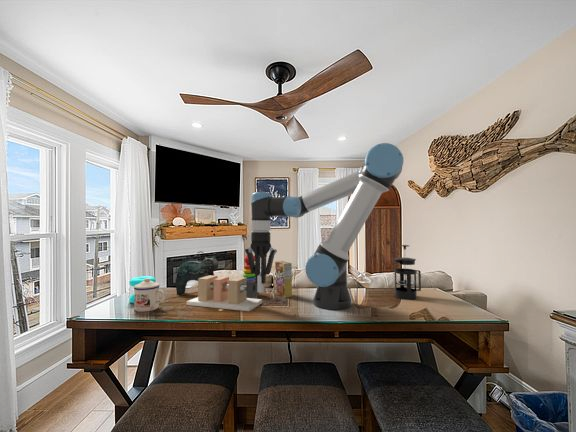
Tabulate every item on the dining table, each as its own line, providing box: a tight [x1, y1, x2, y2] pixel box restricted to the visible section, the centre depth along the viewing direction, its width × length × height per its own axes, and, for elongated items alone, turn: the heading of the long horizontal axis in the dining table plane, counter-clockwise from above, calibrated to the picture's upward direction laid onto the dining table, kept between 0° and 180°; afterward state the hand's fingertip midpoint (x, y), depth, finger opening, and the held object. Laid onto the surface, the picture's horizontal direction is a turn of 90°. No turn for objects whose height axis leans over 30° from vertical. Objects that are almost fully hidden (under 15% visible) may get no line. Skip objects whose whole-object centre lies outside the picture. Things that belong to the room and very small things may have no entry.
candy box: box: [274, 260, 293, 299], centre depth 134 cm, size 9×4×15 cm, turn 29°
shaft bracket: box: [186, 275, 263, 312], centre depth 120 cm, size 28×12×10 cm, turn 71°
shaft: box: [210, 280, 260, 299], centre depth 119 cm, size 21×5×6 cm, turn 71°
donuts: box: [128, 275, 156, 304], centre depth 126 cm, size 10×10×10 cm
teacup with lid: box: [133, 278, 166, 313], centre depth 114 cm, size 12×9×12 cm
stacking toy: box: [242, 254, 255, 282], centre depth 137 cm, size 8×8×19 cm
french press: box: [394, 244, 422, 301], centre depth 130 cm, size 12×9×23 cm
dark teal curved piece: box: [175, 251, 219, 295], centre depth 138 cm, size 20×6×20 cm, turn 81°
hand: (260, 291), depth 115 cm, fingers closed
